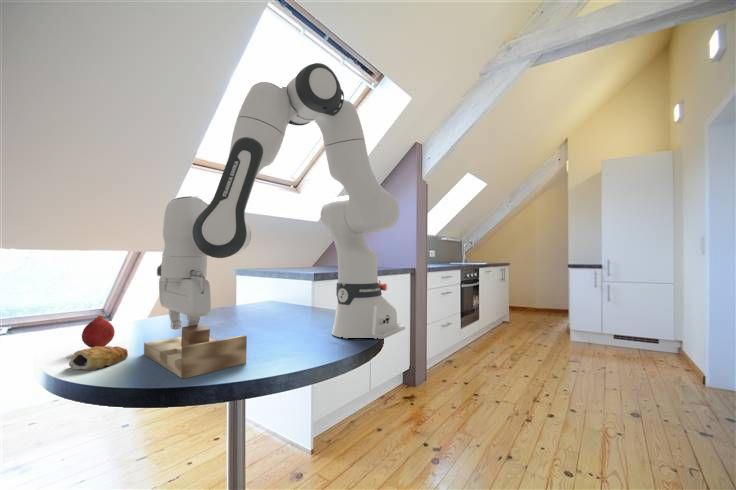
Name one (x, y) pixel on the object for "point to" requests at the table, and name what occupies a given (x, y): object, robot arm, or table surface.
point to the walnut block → (194, 335)
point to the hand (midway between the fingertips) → (183, 332)
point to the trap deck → (197, 355)
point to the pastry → (97, 357)
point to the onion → (98, 332)
